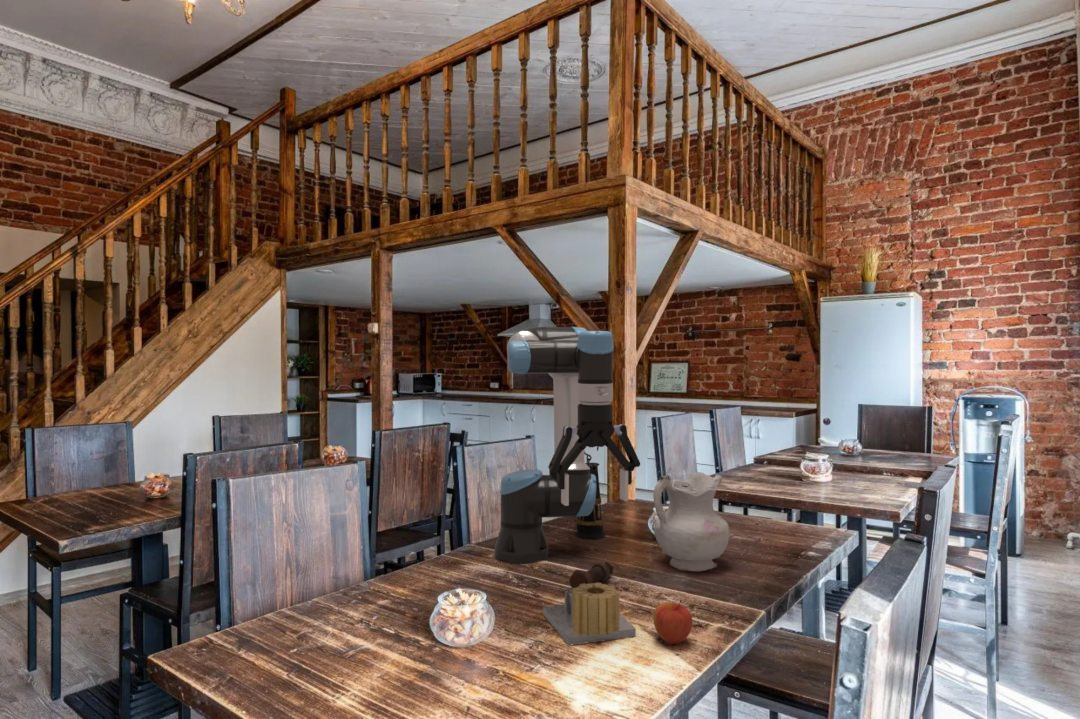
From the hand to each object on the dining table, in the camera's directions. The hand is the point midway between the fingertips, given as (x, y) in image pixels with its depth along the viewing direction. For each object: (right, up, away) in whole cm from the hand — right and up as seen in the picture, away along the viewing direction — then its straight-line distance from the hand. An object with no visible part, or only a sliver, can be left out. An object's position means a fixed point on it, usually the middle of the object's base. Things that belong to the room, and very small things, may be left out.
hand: (594, 502), depth 134 cm
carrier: (-2, -24, -6) cm, 25 cm away
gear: (-1, -22, -10) cm, 24 cm away
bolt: (+2, -25, +18) cm, 31 cm away
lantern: (+4, -25, +62) cm, 67 cm away
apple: (+14, -24, -14) cm, 31 cm away
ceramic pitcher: (+28, -24, +32) cm, 49 cm away
